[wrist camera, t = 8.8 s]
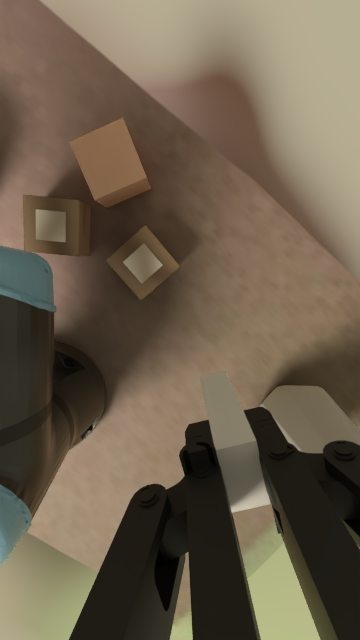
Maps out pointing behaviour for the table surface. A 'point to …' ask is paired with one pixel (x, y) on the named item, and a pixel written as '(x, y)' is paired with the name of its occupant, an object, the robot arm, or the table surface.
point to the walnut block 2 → (143, 262)
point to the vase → (309, 417)
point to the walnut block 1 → (56, 226)
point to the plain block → (110, 163)
